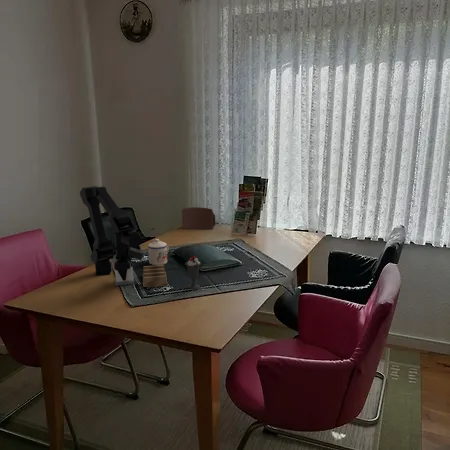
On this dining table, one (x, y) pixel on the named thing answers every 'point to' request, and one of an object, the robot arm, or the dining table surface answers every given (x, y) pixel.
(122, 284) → the rails
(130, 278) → the upright white panel
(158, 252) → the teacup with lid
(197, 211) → the letter holder
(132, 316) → the dining table surface
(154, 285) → the rack
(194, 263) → the sundae
